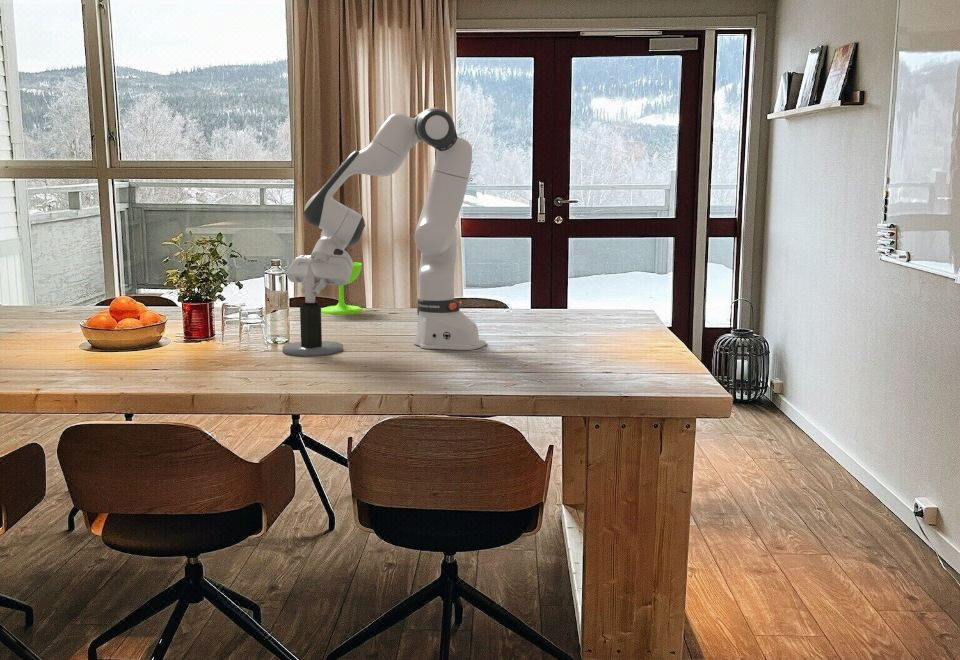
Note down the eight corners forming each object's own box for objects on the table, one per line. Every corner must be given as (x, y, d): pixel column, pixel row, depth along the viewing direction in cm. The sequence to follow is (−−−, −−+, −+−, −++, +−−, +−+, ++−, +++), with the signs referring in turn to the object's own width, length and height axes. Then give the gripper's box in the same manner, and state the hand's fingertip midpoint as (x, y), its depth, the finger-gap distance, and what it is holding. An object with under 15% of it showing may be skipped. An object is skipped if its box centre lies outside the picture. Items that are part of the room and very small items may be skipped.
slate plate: (354, 347, 284) (353, 343, 284) (323, 358, 267) (323, 354, 267) (303, 342, 290) (303, 339, 290) (270, 353, 274) (270, 349, 274)
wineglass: (356, 315, 344) (354, 266, 341) (314, 313, 346) (313, 265, 343) (367, 308, 359) (366, 262, 356) (328, 307, 362) (326, 261, 359)
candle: (309, 348, 275) (307, 264, 271) (299, 346, 279) (297, 263, 274) (323, 346, 279) (321, 263, 274) (313, 343, 282) (311, 262, 278)
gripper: (292, 248, 284) (275, 284, 276) (351, 251, 276) (335, 288, 269) (300, 261, 289) (284, 297, 281) (358, 265, 281) (343, 301, 274)
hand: (309, 292), depth 275 cm, fingers closed on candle, 2 cm apart
